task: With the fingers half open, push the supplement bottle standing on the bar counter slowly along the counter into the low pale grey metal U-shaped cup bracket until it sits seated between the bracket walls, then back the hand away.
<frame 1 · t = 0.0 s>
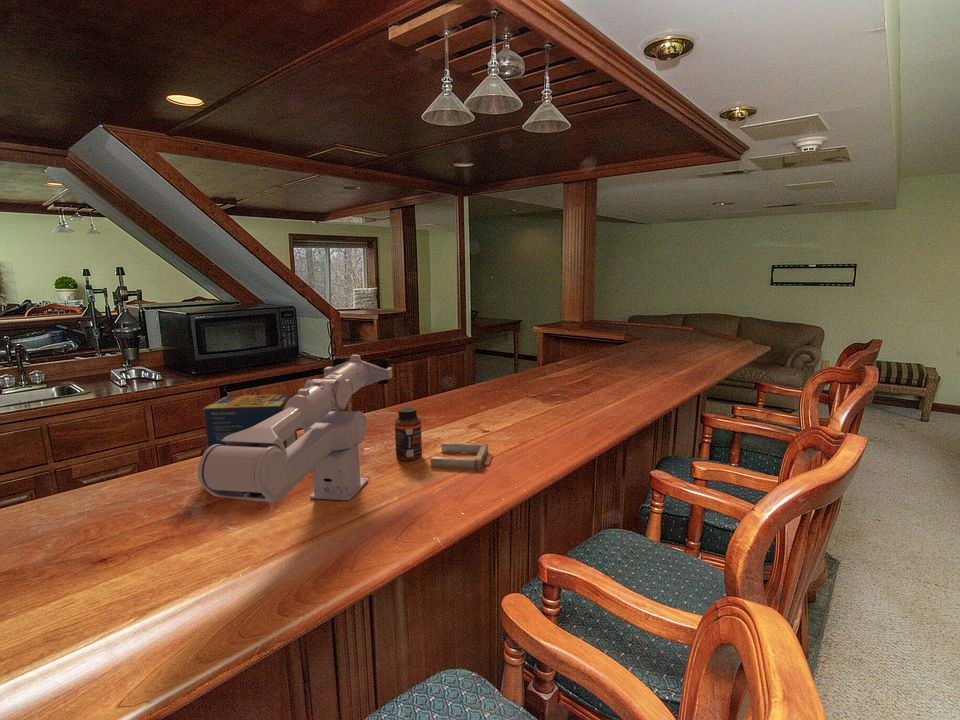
hand: (372, 362, 112), 22 cm above the bar counter, tool horizontal, fingers open, 7 cm apart
supplement bottle: (409, 458, 114), on the bar counter
cup bracket: (460, 459, 112), on the bar counter
protein box: (257, 470, 108), on the bar counter
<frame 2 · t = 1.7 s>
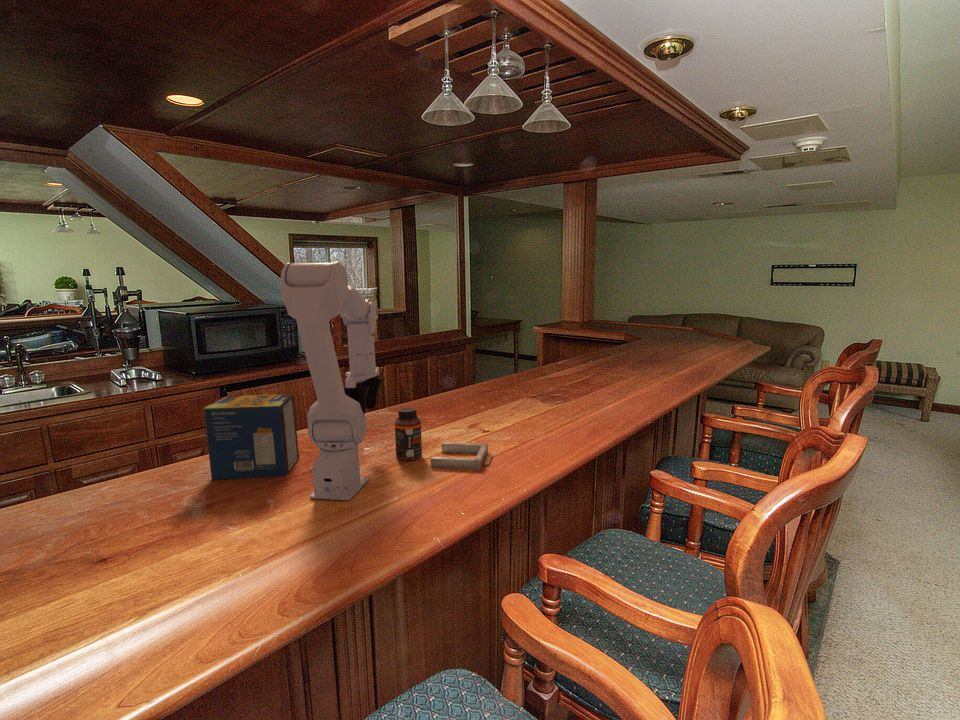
hand: (365, 411, 114), 10 cm above the bar counter, tool pointing down, fingers open, 6 cm apart
nothing on the bar counter moved.
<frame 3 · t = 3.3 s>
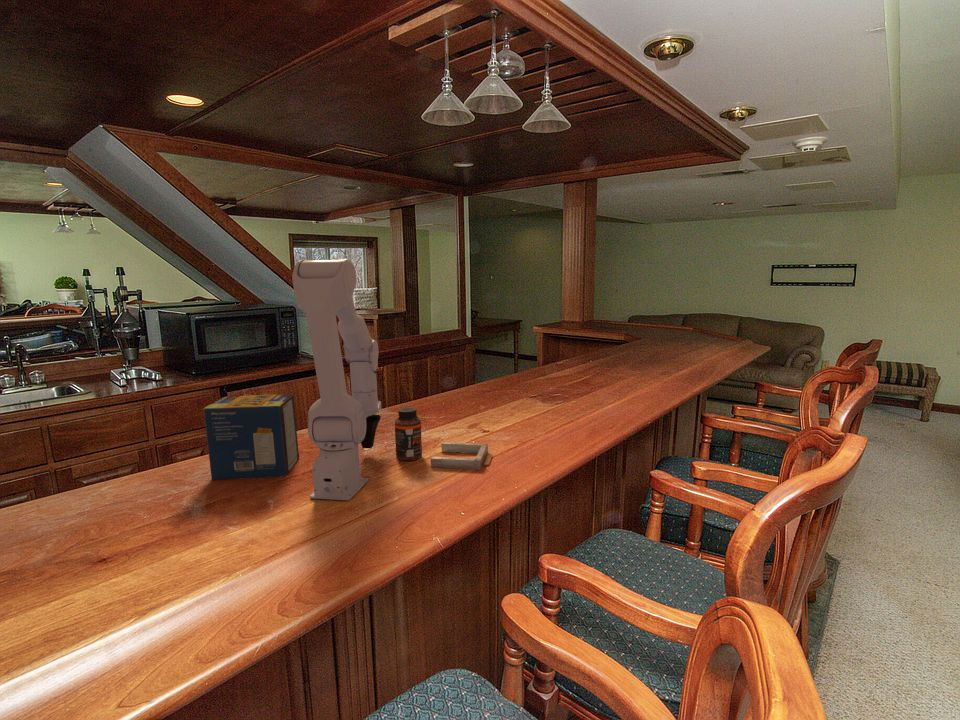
hand: (367, 447, 115), 2 cm above the bar counter, tool pointing down, fingers closed
nothing on the bar counter moved.
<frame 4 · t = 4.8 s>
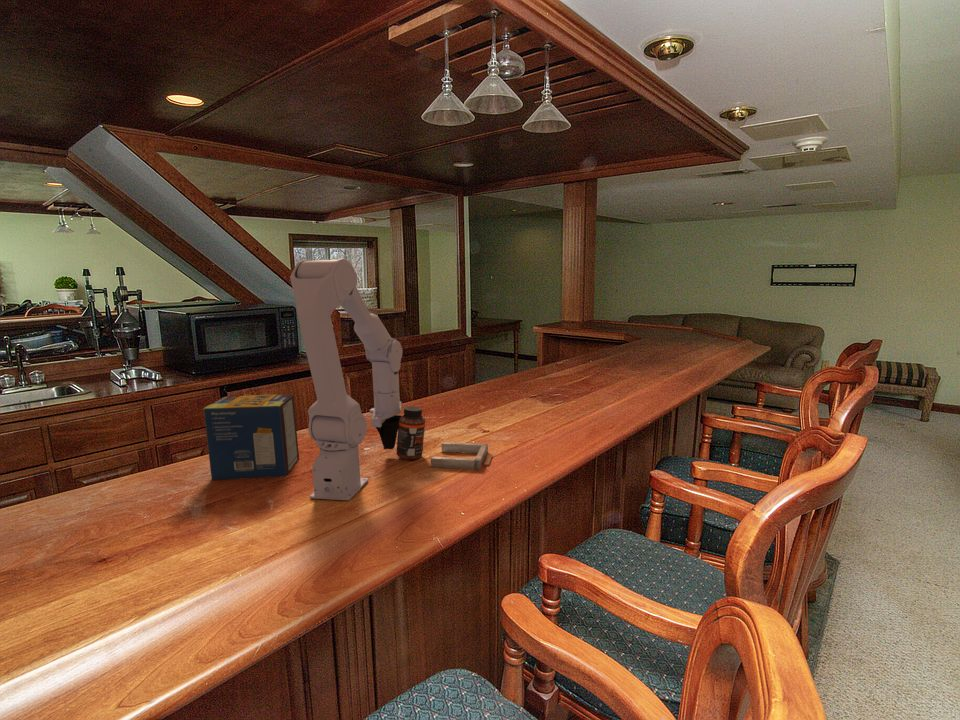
hand: (389, 448, 114), 2 cm above the bar counter, tool pointing down, fingers closed, pressing on supplement bottle
supplement bottle: (409, 456, 114), on the bar counter, touching gripper
everything else where it was.
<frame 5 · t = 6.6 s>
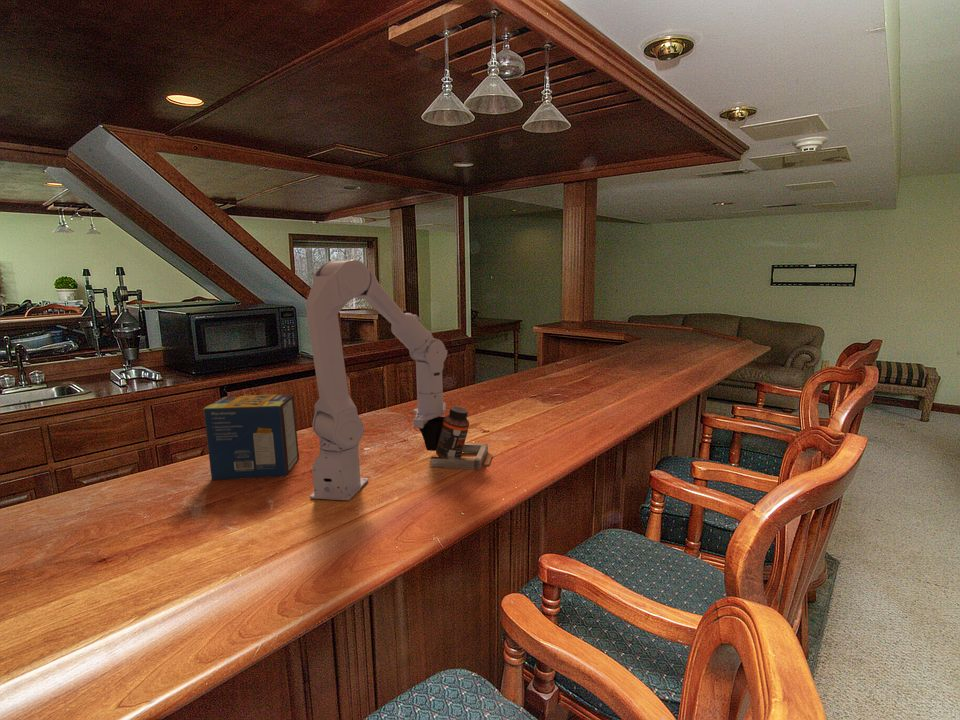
hand: (432, 449, 112), 2 cm above the bar counter, tool pointing down, fingers closed, pressing on supplement bottle
supplement bottle: (447, 456, 112), point 1 cm above the bar counter, touching gripper
everything else where it was.
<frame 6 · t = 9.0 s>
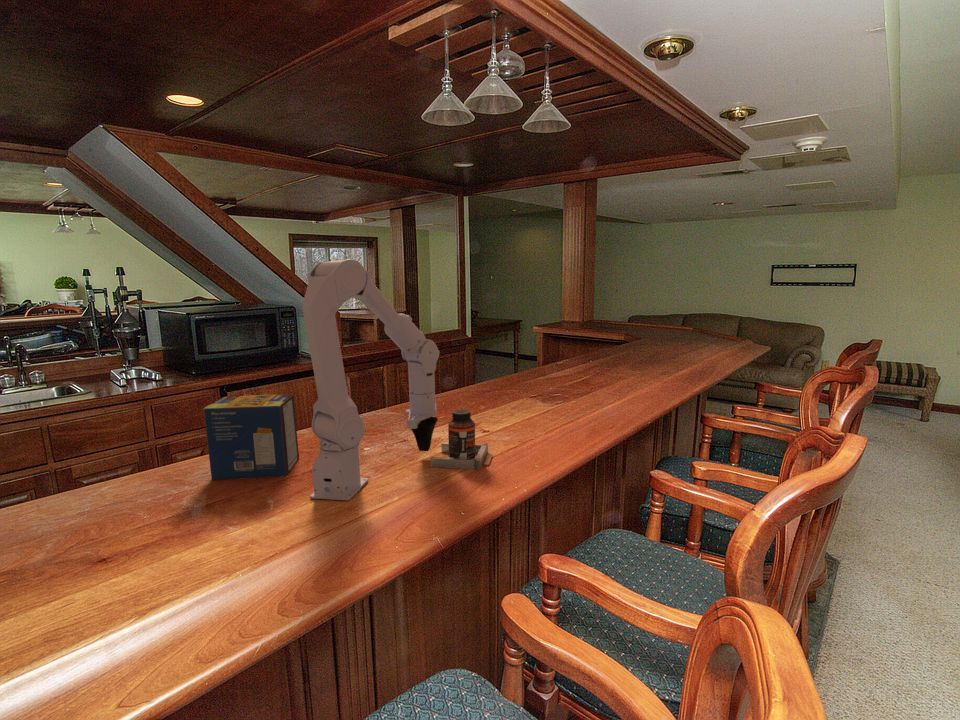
hand: (424, 450, 113), 2 cm above the bar counter, tool pointing down, fingers closed
supplement bottle: (462, 461, 111), resting in cup bracket
everything else where it was.
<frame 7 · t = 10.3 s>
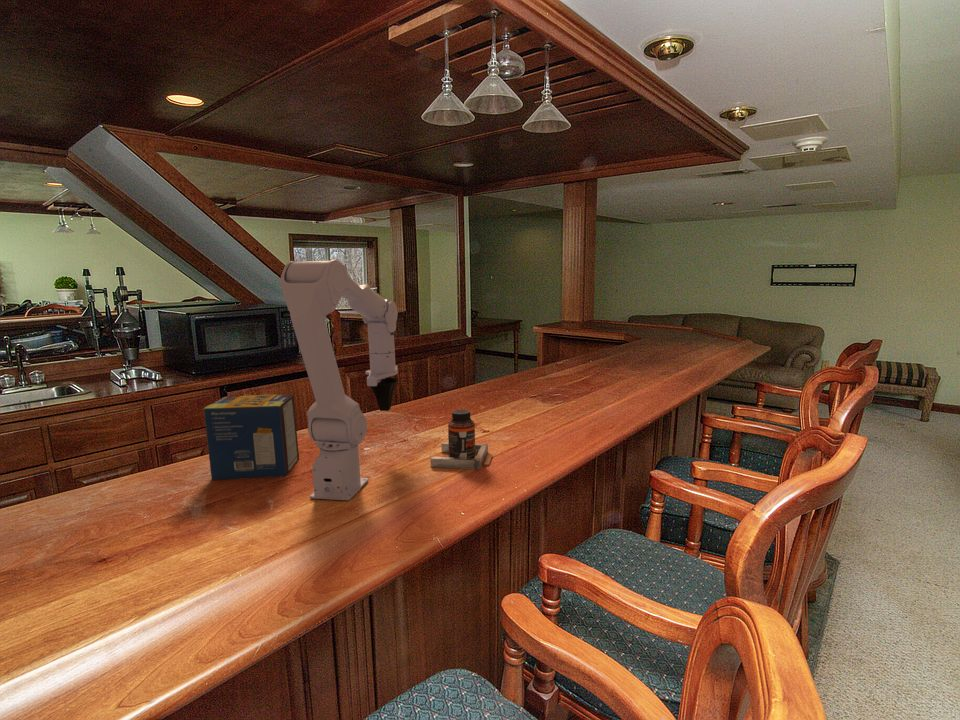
hand: (385, 410, 115), 10 cm above the bar counter, tool pointing down, fingers closed
nothing on the bar counter moved.
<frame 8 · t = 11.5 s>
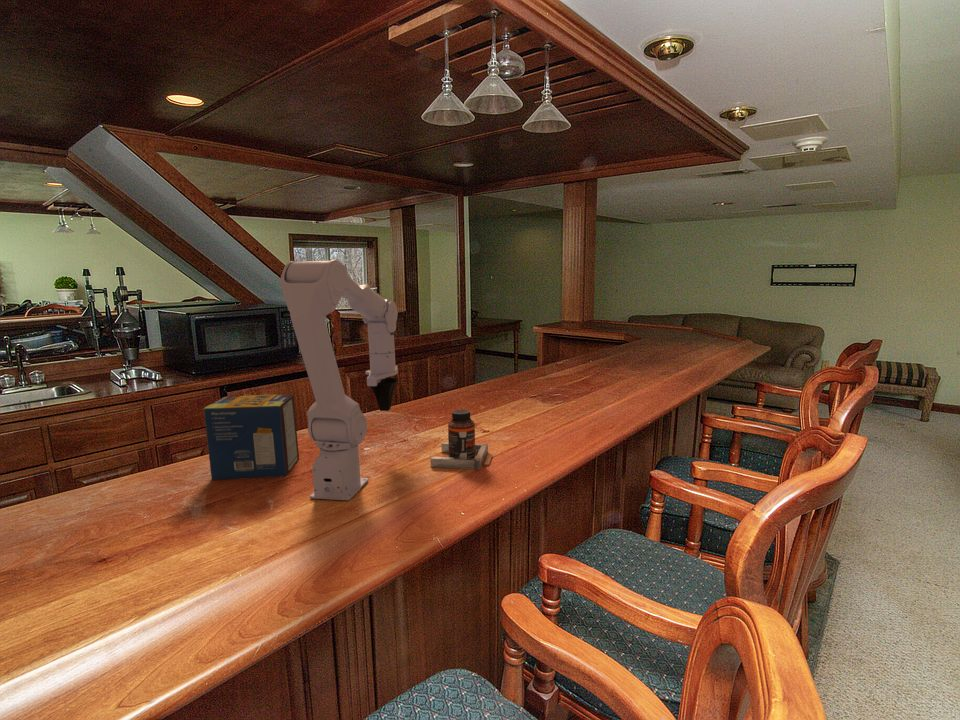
hand: (385, 410, 115), 10 cm above the bar counter, tool pointing down, fingers closed
nothing on the bar counter moved.
at the end: supplement bottle 0.6 cm off-centre on the cup bracket, point 0.0 cm above the cup bracket's base; supplement bottle tilted 0°; supplement bottle moved 12.5 cm from its start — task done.
